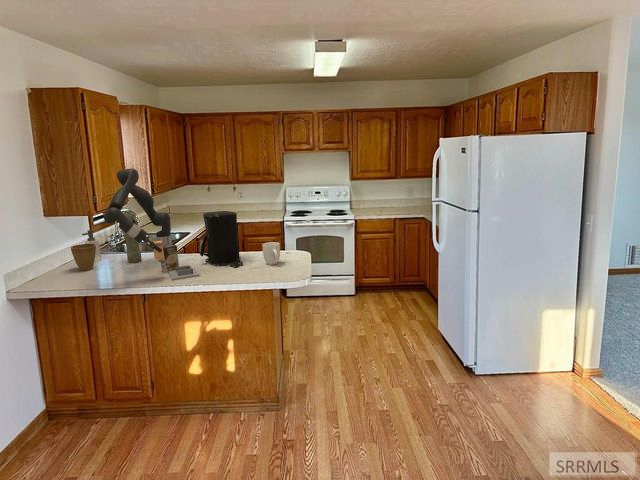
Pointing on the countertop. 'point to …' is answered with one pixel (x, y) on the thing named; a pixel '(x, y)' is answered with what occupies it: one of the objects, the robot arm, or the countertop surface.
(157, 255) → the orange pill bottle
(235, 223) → the coffee maker
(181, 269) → the end holder
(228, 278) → the countertop surface
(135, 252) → the thermos
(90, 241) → the soap dispenser
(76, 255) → the plant pot
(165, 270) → the coffee box
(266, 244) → the mug
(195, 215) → the countertop surface
